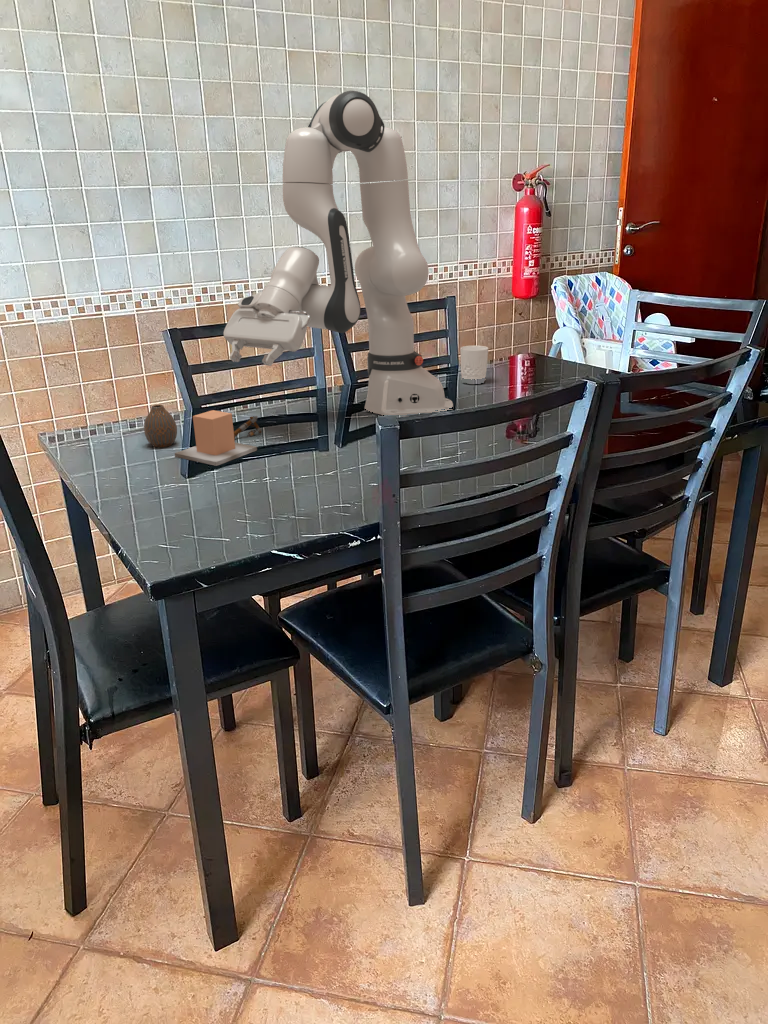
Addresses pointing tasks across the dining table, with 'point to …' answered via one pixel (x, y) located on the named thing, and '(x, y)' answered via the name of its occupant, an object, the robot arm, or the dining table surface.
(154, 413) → the vase
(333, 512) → the dining table surface
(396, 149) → the robot arm
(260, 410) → the dining table surface
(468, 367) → the white cup
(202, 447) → the tan cardboard cube
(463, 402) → the dining table surface
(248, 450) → the base with wooden post
